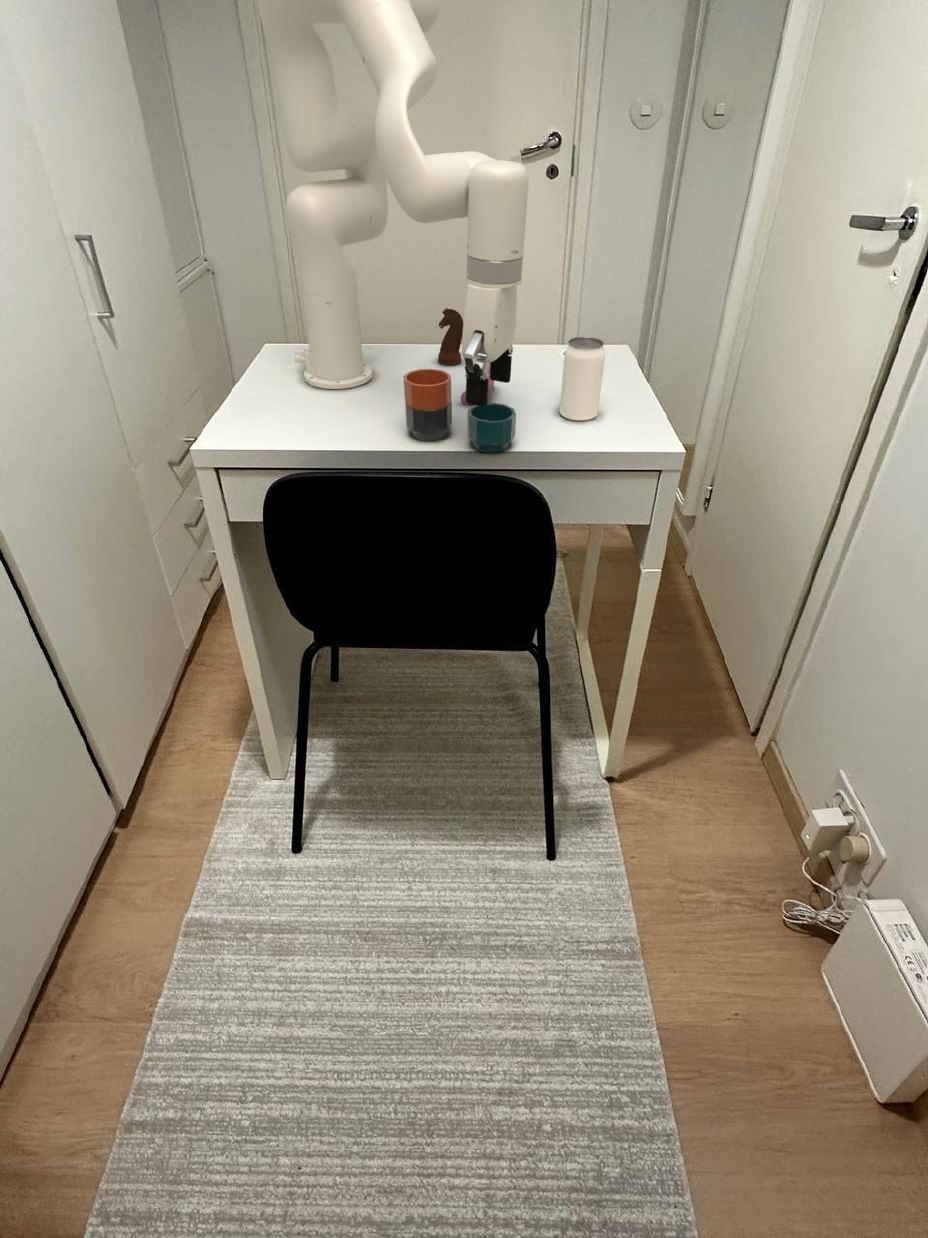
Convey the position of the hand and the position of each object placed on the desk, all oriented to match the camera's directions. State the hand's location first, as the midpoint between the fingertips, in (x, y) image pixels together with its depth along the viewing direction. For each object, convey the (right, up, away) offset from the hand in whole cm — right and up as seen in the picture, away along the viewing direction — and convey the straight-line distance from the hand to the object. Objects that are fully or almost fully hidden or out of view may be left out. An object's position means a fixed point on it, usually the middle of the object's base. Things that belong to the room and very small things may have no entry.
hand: (488, 392), depth 109 cm
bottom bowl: (-9, -4, +8) cm, 13 cm away
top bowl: (+1, -7, +5) cm, 8 cm away
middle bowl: (-9, -1, +6) cm, 11 cm away
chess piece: (-6, +16, +34) cm, 38 cm away
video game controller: (-1, +5, +20) cm, 21 cm away
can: (+16, +1, +14) cm, 21 cm away
